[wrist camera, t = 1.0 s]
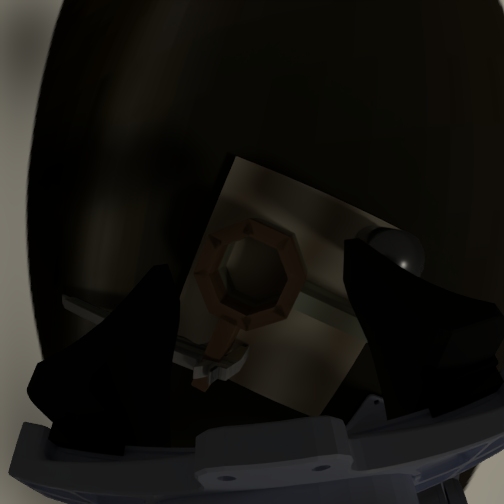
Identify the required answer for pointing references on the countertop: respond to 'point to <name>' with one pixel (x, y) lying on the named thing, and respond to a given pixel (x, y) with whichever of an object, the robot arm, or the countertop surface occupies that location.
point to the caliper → (184, 348)
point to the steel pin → (395, 246)
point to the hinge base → (276, 287)
